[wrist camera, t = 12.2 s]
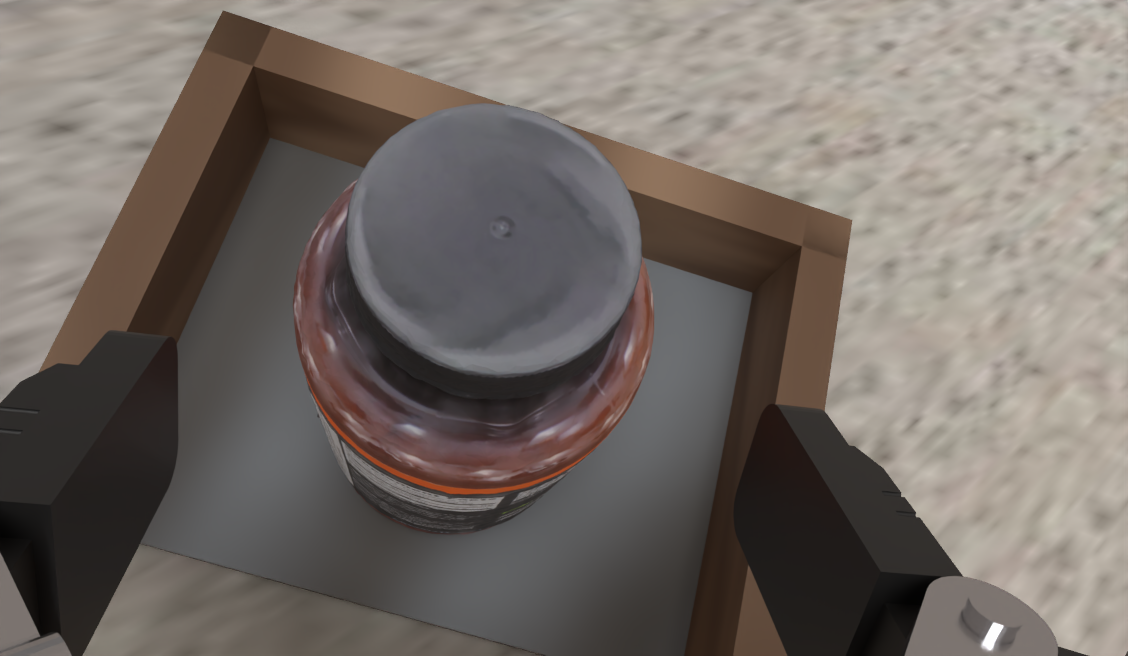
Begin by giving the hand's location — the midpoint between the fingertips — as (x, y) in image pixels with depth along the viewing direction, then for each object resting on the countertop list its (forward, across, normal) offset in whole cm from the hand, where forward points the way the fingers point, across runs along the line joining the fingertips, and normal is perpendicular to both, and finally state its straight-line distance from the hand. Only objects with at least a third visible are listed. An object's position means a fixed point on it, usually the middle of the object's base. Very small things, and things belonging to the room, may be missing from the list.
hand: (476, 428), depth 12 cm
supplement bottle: (+9, 0, +5) cm, 10 cm away
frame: (+10, 0, +5) cm, 11 cm away
